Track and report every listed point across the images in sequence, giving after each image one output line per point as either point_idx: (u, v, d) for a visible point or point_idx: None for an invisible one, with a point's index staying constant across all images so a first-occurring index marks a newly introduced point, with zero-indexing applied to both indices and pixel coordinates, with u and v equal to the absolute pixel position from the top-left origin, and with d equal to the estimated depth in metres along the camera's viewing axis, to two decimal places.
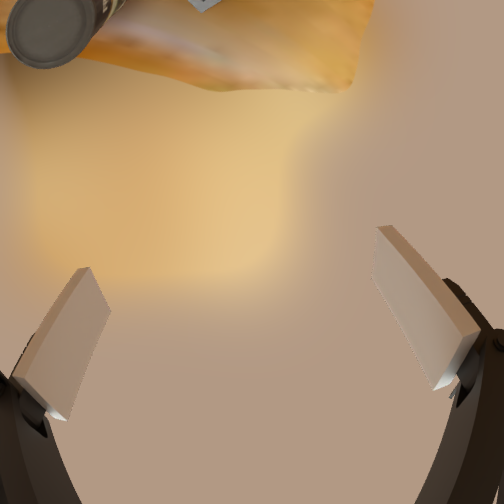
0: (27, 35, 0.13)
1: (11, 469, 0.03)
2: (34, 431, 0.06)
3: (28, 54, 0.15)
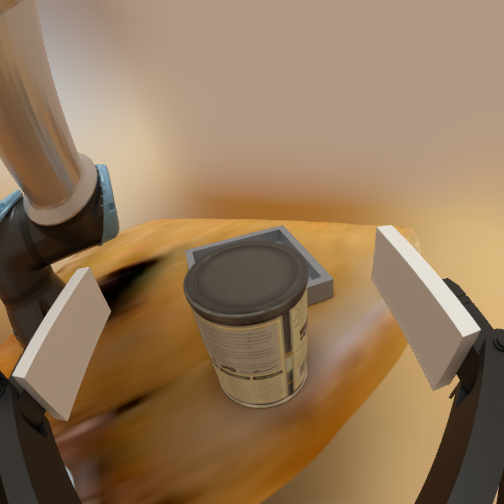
0: (232, 292, 0.22)
1: (11, 469, 0.03)
2: (34, 431, 0.06)
3: (258, 302, 0.20)
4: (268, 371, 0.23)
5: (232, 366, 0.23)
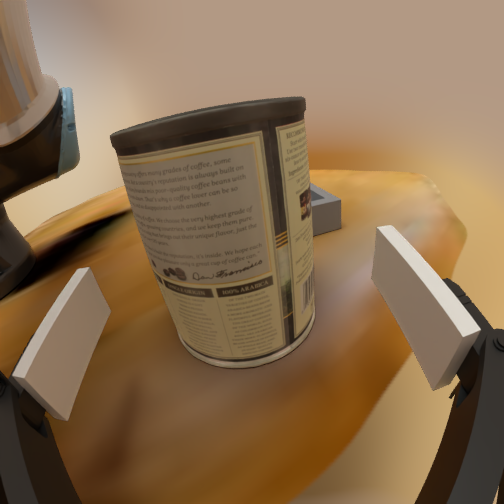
0: None
1: (11, 469, 0.03)
2: (34, 431, 0.06)
3: None
4: (244, 273, 0.13)
5: (178, 265, 0.13)
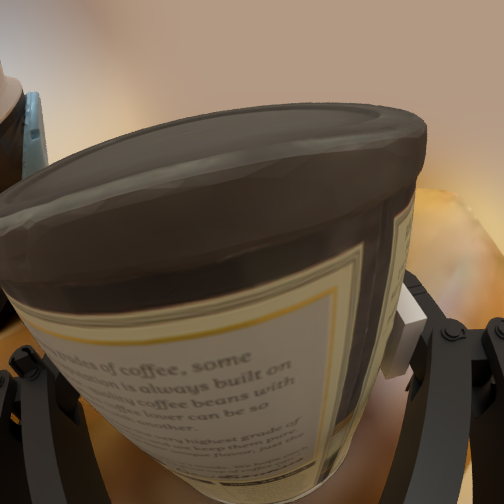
0: (106, 161, 0.04)
1: (38, 459, 0.04)
2: (67, 419, 0.06)
3: None
4: (269, 473, 0.05)
5: (149, 454, 0.06)
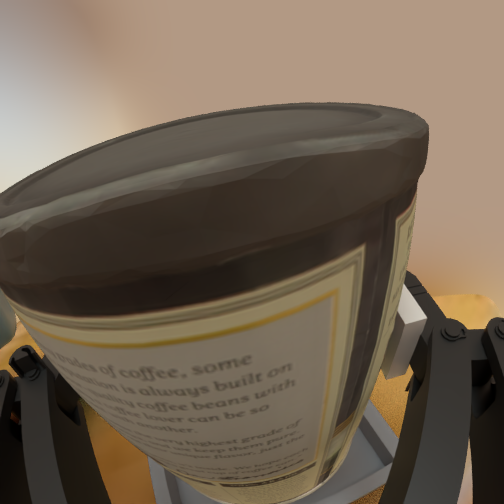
0: (105, 162, 0.04)
1: (38, 459, 0.04)
2: (67, 419, 0.06)
3: None
4: (270, 475, 0.05)
5: (149, 455, 0.05)
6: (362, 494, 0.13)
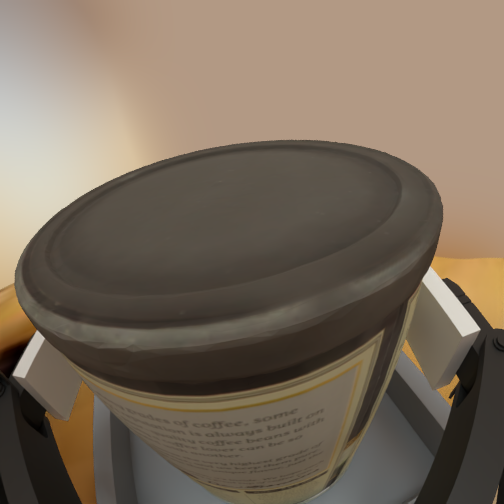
0: (151, 230, 0.05)
1: (11, 469, 0.03)
2: (34, 431, 0.06)
3: (262, 260, 0.04)
4: (290, 482, 0.06)
5: (184, 470, 0.06)
6: None
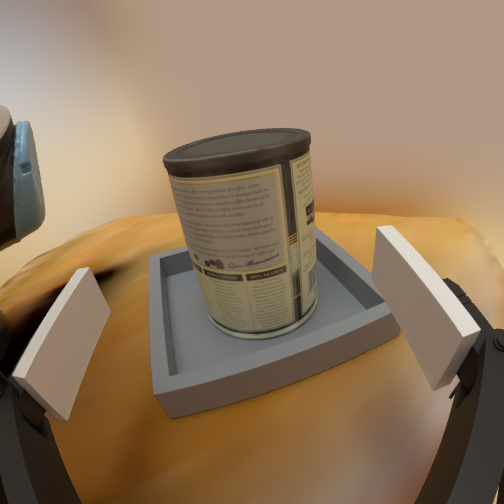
0: (219, 149, 0.17)
1: (11, 469, 0.03)
2: (34, 431, 0.06)
3: (250, 148, 0.16)
4: (266, 263, 0.18)
5: (218, 257, 0.18)
6: (357, 327, 0.18)
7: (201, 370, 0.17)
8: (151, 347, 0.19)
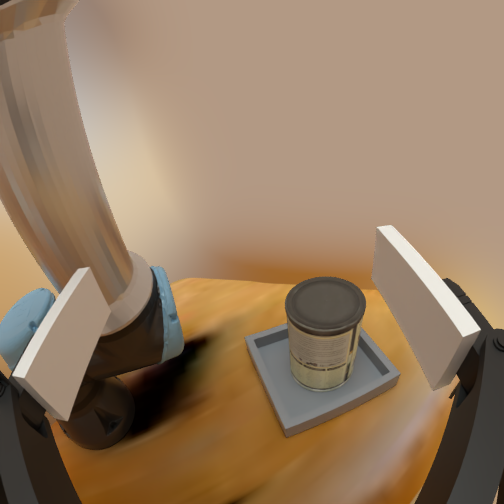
0: (322, 315, 0.33)
1: (11, 469, 0.03)
2: (34, 431, 0.06)
3: (340, 321, 0.32)
4: (338, 363, 0.34)
5: (315, 362, 0.34)
6: (375, 387, 0.34)
7: (306, 413, 0.33)
8: (274, 404, 0.35)
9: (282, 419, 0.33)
